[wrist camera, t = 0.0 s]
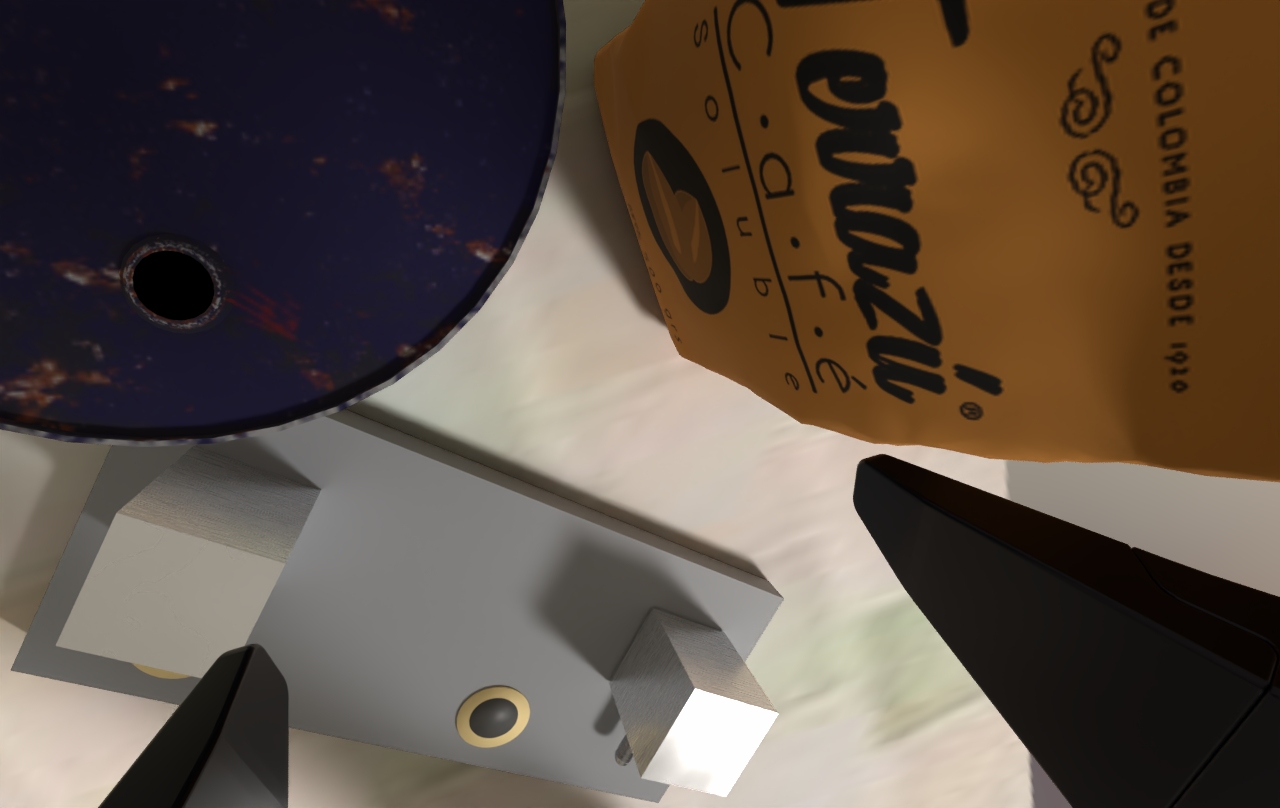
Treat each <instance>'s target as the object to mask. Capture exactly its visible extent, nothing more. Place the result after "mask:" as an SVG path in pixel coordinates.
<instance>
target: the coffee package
mask: <svg viewBox="0 0 1280 808" xmlns="http://www.w3.org/2000/svg"><path fill="white" fill-rule="evenodd" d="M594 85H595V90H596V95H597V99H598V104H599V108H600V113H601V117H602V121H603V126H604V129H605V133H606V136H607V140H608V144H609V148H610V152H611V156H612V160H613V163H614V167H615V170H616V173H617V176H618V179H619V183H620V186H621V189H622V192H623V195H624V198H625V201H626V205H627V208H628V211H629V214H630V217H631V220H632V223H633V226H634V229H635V232H636V235H637V238H638V241H639V244H640V248H641V251H642V254H643V257H644V260H645V263H646V266H647V269H648V272H649V275H650V278H651V281H652V285H653V288H654V291H655V294H656V297H657V299H658V302H659V305H660V308H661V311H662V313H663V316H664V319H665V322H666V325H667V327H668V330H669V333H670V336H671V338H672V340H673V343H674V345H675V347H676V349H677V351H678V353H679V355H681V356H682V357H683V358H685V359H688V360H690V361H692V362H695V363H697V364H699V365H701V366H703V367H705V368H706V369H709V370H711V371H713V372H716V373H718V374H720V375H723V376H725V377H727V378H729V379H731V380H733V381H735V382H737V383H738V384H740V385H742V386H745V387H747V388H748V389H750V390H751V391H752V392H754V393H755V394H756V395H758V396H759V397H761V398H763V399H764V400H766V401H767V402H769V403H770V404H772V405H774V406H775V407H777V408H779V409H780V410H782V411H783V412H785V413H786V414H788V415H789V416H791V417H792V418H794V419H795V420H797V421H798V422H800V423H801V424H809V425H814V426H818V427H821V428H824V429H828V430H831V431H835V432H838V433H841V434H844V435H847V436H850V437H853V438H856V439H859V440H863V441H867V442H870V443H874V444H891V445H897V446H901V445H922V446H928V447H935V448H941V449H947V450H951V451H956V452H961V453H966V454H970V455H975V456H980V457H984V458H989V459H1003V460H1020V461H1035V462H1042V463H1050V462H1064V461H1068V462H1082V463H1097V462H1098V463H1099V462H1122V463H1130V464H1139V465H1147V466H1153V467H1159V468H1164V469H1170V470H1176V471H1182V472H1187V473H1193V474H1199V475H1204V476H1215V477H1226V478H1238V479H1249V480H1261V481H1271V482H1280V0H645V2H644V4H643V5H642V7H641V9H640V11H639V12H638V14H637V16H636V18H635V20H634V21H633V23H632V24H631V26H629V27H628V28H626V29H625V30H624V31H622V32H621V33H619V34H618V35H616V36H615V37H614V38H613V39H612V40H611V41H609V42H608V43H607V44H606V45H605V46H603V47H602V48H601V49H600V50H599V51H598V52H597V54H596V56H595V59H594Z"/></svg>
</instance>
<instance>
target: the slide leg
mask: <svg viewBox="0 0 1280 808" xmlns="http://www.w3.org/2000/svg"><path fill="white" fill-rule="evenodd" d="M609 685H610V688H611V691H612V694H613V697H614V700H615V703H616V706H617V709H618V712H619V715H620V718H621V721H622V724H623V727H624V730H625V733H626V734H625V736H624V738H623V739H622V741H621V743H620V744H619V746H618V748H617V749H616V751H615V760H616V762H617V764H619V765H620V766H627V765H628V764H630V762H631V761H632V759H633V757H634V759H635V762H636V765H637V768H638V771H639V774H640V777H641V778H643V779H647V780H652V781H656V782H661V783H665V784H670V785H674V786H679V787H683V788H688V789H692V790H697V791H702V792H706V793H711V794H715V795H720V796H724V797H726V796H727V794H728V793H729V791H730V789H731V788H732V786H733V785H734V783H735V782H736V780H737V778H738V777H739V775H740V774H741V772H742V770H743V769H744V767H745V766H746V764H747V762H748V761H749V759H750V758H751V756H752V754H753V753H754V751H755V750H756V748H757V747H758V745H759V743H760V742H761V740H762V739H763V737H764V735H765V734H766V732H767V731H768V729H769V727H770V726H771V724H772V723H773V721H774V720H775V718H776V716H777V715H778V712H777V711H776V709H775V708H774V706H773V705H772V703H771V702H770V700H769V699H768V697H767V696H766V694H765V693H764V691H763V690H762V688H761V687H760V685H759V684H758V682H757V681H756V679H755V678H754V676H753V675H752V673H751V672H750V670H749V669H748V667H747V665H746V664H745V662H744V661H743V659H742V658H741V656H740V655H739V653H738V652H737V650H736V649H735V647H734V646H733V644H732V643H731V641H730V640H729V638H728V637H727V635H726V634H725V632H722V631H719V630H716V629H713V628H710V627H708V626H705V625H702V624H699V623H696V622H693V621H691V620H688V619H685V618H682V617H679V616H676V615H673V614H671V613H668V612H665V611H662V610H659V609H656V608H654V607H653V608H652V610H651V612H650V613H649V615H648V617H647V618H646V620H645V622H644V623H643V625H642V627H641V629H640V630H639V632H638V634H637V635H636V637H635V639H634V641H633V642H632V644H631V646H630V647H629V649H628V651H627V652H626V654H625V656H624V658H623V659H622V661H621V663H620V664H619V666H618V668H617V669H616V671H615V673H614V675H613V676H612V678H611V680H610V681H609Z"/></svg>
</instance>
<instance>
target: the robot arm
mask: <svg viewBox="0 0 1280 808" xmlns="http://www.w3.org/2000/svg"><path fill="white" fill-rule="evenodd" d="M853 502H854V506H855V509H856V511H857V513H858V515H859V516H860V518H861V520H862V521H863V523H864V525H865V526H866V528H867V529H868V531H869V533H870V534H871V536H872V538H873V539H874V541H875V542H876V544H877V546H878V547H879V549H880V550H881V552H882V554H883V555H884V557H885V559H886V560H887V562H888V563H889V565H890V567H891V568H892V570H893V571H894V573H895V575H896V576H897V578H898V579H899V581H900V582H901V584H902V585H903V587H904V588H905V590H906V591H907V593H908V594H909V595H910V597H911V598H912V599H913V601H914V602H915V603H916V605H917V606H918V607H919V609H920V610H921V611H922V613H923V614H924V615H925V616H926V618H927V619H928V620H929V622H930V623H931V624H932V626H933V627H934V628H935V629H936V631H937V632H938V633H939V635H940V636H941V637H942V639H943V640H944V641H945V642H946V644H947V645H948V646H949V648H950V649H951V650H952V652H953V653H954V654H955V655H956V657H957V658H958V659H959V661H960V662H961V663H962V665H963V666H964V667H965V668H966V670H967V671H968V672H969V674H970V675H971V676H972V678H973V679H974V680H975V681H976V683H977V684H978V685H979V687H980V688H981V689H982V691H983V692H984V693H985V695H986V696H987V697H988V698H989V700H990V701H991V702H992V704H993V705H994V706H995V708H996V709H997V710H998V711H999V713H1000V714H1001V715H1002V717H1003V718H1004V719H1005V721H1006V722H1007V723H1008V724H1009V726H1010V727H1011V728H1012V730H1013V731H1014V732H1015V734H1016V735H1017V736H1018V737H1019V739H1020V740H1021V741H1022V743H1023V744H1024V745H1025V747H1026V748H1027V749H1028V750H1029V752H1030V753H1031V754H1032V756H1033V757H1034V758H1035V760H1036V761H1037V762H1038V763H1039V765H1040V766H1041V767H1042V769H1043V770H1044V771H1045V772H1046V774H1047V775H1048V776H1049V778H1050V779H1051V780H1052V782H1053V783H1054V784H1055V786H1056V787H1057V788H1058V789H1059V790H1060V792H1061V793H1062V795H1063V796H1064V797H1065V799H1066V800H1067V801H1068V802H1069V804H1070V805H1071V806H1072V808H1280V597H1278V596H1275V595H1272V594H1268V593H1266V592H1263V591H1259V590H1256V589H1253V588H1250V587H1247V586H1244V585H1241V584H1238V583H1235V582H1232V581H1229V580H1226V579H1223V578H1220V577H1217V576H1213V575H1210V574H1208V573H1205V572H1202V571H1199V570H1196V569H1194V568H1191V567H1188V566H1185V565H1183V564H1180V563H1177V562H1174V561H1171V560H1168V559H1165V558H1163V557H1160V556H1158V555H1155V554H1152V553H1150V552H1147V551H1144V550H1141V549H1139V548H1136V547H1133V548H1131V547H1130V546H1129V545H1128V544H1125V543H1123V542H1120V541H1117V540H1114V539H1112V538H1109V537H1106V536H1104V535H1101V534H1098V533H1096V532H1093V531H1090V530H1087V529H1085V528H1082V527H1079V526H1077V525H1074V524H1072V523H1069V522H1066V521H1063V520H1061V519H1058V518H1055V517H1053V516H1050V515H1047V514H1045V513H1042V512H1039V511H1036V510H1034V509H1031V508H1029V507H1026V506H1023V505H1020V504H1018V503H1015V502H1012V501H1010V500H1007V499H1004V498H1002V497H999V496H996V495H994V494H991V493H988V492H986V491H983V490H980V489H978V488H975V487H972V486H970V485H967V484H964V483H961V482H959V481H956V480H953V479H951V478H948V477H945V476H943V475H940V474H937V473H935V472H932V471H929V470H927V469H924V468H921V467H919V466H916V465H913V464H910V463H908V462H905V461H902V460H900V459H897V458H894V457H892V456H889V455H886V454H879V455H876V456H872V457H869V458H866V459H863V460H861V461H860V462H859V464H858V466H857V471H856V479H855V486H854V493H853ZM288 753H289V692H288V686H287V683H286V680H285V678H284V676H283V675H282V673H281V672H280V670H279V669H278V667H277V666H276V665H275V663H274V662H273V660H272V659H271V657H270V656H269V654H268V653H267V651H266V650H265V649H264V648H263V646H261V645H260V644H257V643H255V644H249V645H246V646H242V647H239V648H236V649H233V650H229V651H227V652H225V653H223V654H222V655H220V656H219V657H218V658H217V660H216V661H215V662H214V663H213V664H212V666H211V667H210V668H209V669H208V671H207V672H206V673H205V674H204V676H203V677H202V678H201V679H200V681H199V682H198V683H197V684H196V686H195V687H194V688H193V689H192V691H191V692H190V693H189V694H188V696H187V697H186V698H185V699H184V701H183V702H182V703H181V704H180V706H179V707H178V708H177V709H176V711H175V712H174V713H173V714H172V716H171V717H170V718H169V719H168V721H167V722H166V723H165V724H164V726H163V727H162V728H161V729H160V731H159V732H158V733H157V734H156V736H155V737H154V738H153V739H152V741H151V742H150V743H149V744H148V746H147V747H146V748H145V749H144V751H143V752H142V753H141V754H140V756H139V757H138V758H137V759H136V761H135V762H134V763H133V764H132V766H131V767H130V768H129V769H128V771H127V772H126V773H125V775H124V776H123V777H122V778H121V780H120V781H119V782H118V783H117V785H116V786H115V787H114V788H113V790H112V791H111V792H110V793H109V795H108V796H107V797H106V798H105V800H104V801H103V802H102V803H101V805H100V806H99V807H98V808H288Z"/></svg>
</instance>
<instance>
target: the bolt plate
mask: <svg viewBox="0 0 1280 808" xmlns="http://www.w3.org/2000/svg"><path fill="white" fill-rule="evenodd" d="M194 445H196V446H199V447H202V448H205V449H208V450H211V451H213V452H216V453H219V454H222V455H225V456H228V457H231V458H233V459H236V460H239V461H242V462H245V463H248V464H250V465H253V466H256V467H259V468H262V469H265V470H267V471H270V472H273V473H276V474H279V475H282V476H285V477H287V478H290V479H293V480H296V481H299V482H302V483H304V484H307V485H310V486H313V487H316V488H319V489H321V492H320V494H319V496H318V498H317V500H316V502H315V504H314V506H313V508H312V510H311V512H310V514H309V516H308V518H307V521H306V523H305V525H304V527H303V529H302V531H301V533H300V535H299V537H298V539H297V541H296V543H295V545H294V547H293V549H292V551H291V553H290V556H289V558H288V560H287V562H286V564H285V566H284V568H283V570H282V572H281V574H280V576H279V578H278V580H277V582H276V584H275V586H274V588H273V590H272V592H271V594H270V596H269V598H268V600H267V602H266V604H265V606H264V608H263V610H262V612H261V614H260V616H259V618H258V620H257V622H256V624H255V626H254V628H253V630H252V632H251V634H250V636H249V638H248V640H247V642H246V644H245V646H246V645H249V644H255V643H257V644H260V645H261V646H263V648H264V649H265V650H266V651H267V653H268V654H269V656H270V657H271V659H272V660H273V662H274V663H275V665H276V666H277V667H278V669H279V670H280V672H281V673H282V675H283V676H284V678H285V680H286V683H287V686H288V692H289V727H290V728H295V729H299V730H304V731H309V732H314V733H319V734H324V735H329V736H334V737H338V738H343V739H348V740H353V741H358V742H363V743H368V744H373V745H378V746H382V747H387V748H392V749H397V750H402V751H407V752H412V753H417V754H422V755H426V756H431V757H436V758H441V759H446V760H451V761H456V762H461V763H465V764H470V765H475V766H480V767H485V768H490V769H495V770H500V771H505V772H509V773H514V774H519V775H524V776H529V777H534V778H539V779H544V780H549V781H553V782H558V783H563V784H568V785H573V786H578V787H583V788H588V789H592V790H597V791H602V792H607V793H612V794H617V795H622V796H627V797H632V798H636V799H641V800H646V801H651V802H656V803H659V801H660V800H661V798H662V796H663V795H664V793H665V791H666V790H667V788H668V787H669V785H670V784H665V783H661V782H656V781H652V780H647V779H643V778H641V777H640V774H639V771H638V768H637V765H636V762H635V759H634V757H633V759H632V761H631V762H630V764H628V765H627V766H620V765H619V764H617V762H616V760H615V751H616V749H617V748H618V746H619V744H620V743H621V741H622V739H623V738H624V736H625V734H626V733H625V730H624V727H623V724H622V721H621V718H620V715H619V712H618V709H617V706H616V703H615V700H614V697H613V694H612V691H611V688H610V685H609V681H610V680H611V678H612V676H613V675H614V673H615V671H616V669H617V668H618V666H619V664H620V663H621V661H622V659H623V658H624V656H625V654H626V652H627V651H628V649H629V647H630V646H631V644H632V642H633V641H634V639H635V637H636V635H637V634H638V632H639V630H640V629H641V627H642V625H643V623H644V622H645V620H646V618H647V617H648V615H649V613H650V612H651V610H652V608H653V607H654V608H656V609H659V610H662V611H665V612H668V613H671V614H673V615H676V616H679V617H682V618H685V619H688V620H691V621H693V622H696V623H699V624H702V625H705V626H708V627H710V628H713V629H716V630H719V631H722V632H725V634H726V635H727V637H728V638H729V640H730V641H731V643H732V644H733V646H734V647H735V649H736V650H737V652H738V653H739V655H740V656H741V658H742V659H743V661H744V662H745V661H746V660H747V658H748V656H749V655H750V653H751V651H752V650H753V648H754V647H755V645H756V643H757V642H758V640H759V638H760V637H761V635H762V634H763V632H764V630H765V629H766V627H767V625H768V624H769V622H770V621H771V619H772V617H773V616H774V614H775V612H776V611H777V609H778V608H779V606H780V604H781V603H782V601H783V599H784V598H783V597H782V596H781V595H780V594H779V592H778V591H777V590H776V589H775V588H774V587H773V586H772V584H771V583H770V582H769V581H767V580H765V579H762V578H760V577H757V576H755V575H752V574H750V573H747V572H745V571H742V570H740V569H737V568H735V567H733V566H730V565H728V564H725V563H723V562H720V561H718V560H715V559H713V558H710V557H708V556H705V555H703V554H701V553H698V552H696V551H693V550H691V549H688V548H686V547H683V546H681V545H678V544H676V543H673V542H671V541H669V540H666V539H664V538H661V537H659V536H656V535H654V534H651V533H649V532H646V531H644V530H641V529H639V528H637V527H634V526H632V525H629V524H627V523H624V522H622V521H619V520H617V519H614V518H612V517H609V516H607V515H605V514H602V513H600V512H597V511H595V510H592V509H590V508H587V507H585V506H582V505H580V504H577V503H575V502H573V501H570V500H568V499H565V498H563V497H560V496H558V495H555V494H553V493H550V492H548V491H546V490H543V489H541V488H538V487H536V486H533V485H531V484H528V483H526V482H523V481H521V480H518V479H516V478H514V477H511V476H509V475H506V474H504V473H501V472H499V471H496V470H494V469H491V468H489V467H486V466H484V465H482V464H479V463H477V462H474V461H472V460H469V459H467V458H464V457H462V456H459V455H457V454H454V453H452V452H450V451H447V450H445V449H442V448H440V447H437V446H435V445H432V444H430V443H427V442H425V441H422V440H420V439H418V438H415V437H413V436H410V435H408V434H405V433H403V432H400V431H398V430H395V429H393V428H390V427H388V426H386V425H383V424H381V423H378V422H376V421H373V420H371V419H368V418H366V417H363V416H361V415H358V414H356V413H354V412H351V411H349V410H346V409H343V410H341V411H339V412H336V413H333V414H330V415H327V416H324V417H321V418H318V419H315V420H312V421H309V422H306V423H303V424H300V425H297V426H294V427H291V428H288V429H285V430H282V431H279V432H273V433H268V434H262V435H257V436H252V437H246V438H241V439H236V440H230V441H225V442H220V443H213V444H194ZM194 445H175V446H157V447H134V446H120V445H112V446H111V449H110V451H109V453H108V455H107V457H106V460H105V462H104V464H103V466H102V468H101V471H100V473H99V475H98V477H97V480H96V482H95V484H94V486H93V488H92V491H91V493H90V495H89V497H88V500H87V502H86V504H85V506H84V508H83V511H82V513H81V515H80V517H79V520H78V522H77V524H76V526H75V528H74V531H73V533H72V535H71V537H70V540H69V542H68V544H67V546H66V548H65V551H64V553H63V555H62V557H61V559H60V562H59V564H58V566H57V568H56V571H55V573H54V575H53V577H52V579H51V582H50V584H49V586H48V588H47V591H46V593H45V595H44V597H43V599H42V602H41V604H40V606H39V608H38V611H37V613H36V615H35V617H34V619H33V622H32V624H31V626H30V628H29V630H28V633H27V635H26V637H25V639H24V642H23V644H22V646H21V648H20V650H19V653H18V655H17V657H16V659H15V662H14V664H13V666H12V668H11V671H16V672H21V673H26V674H31V675H36V676H41V677H45V678H50V679H55V680H60V681H65V682H70V683H75V684H80V685H85V686H89V687H94V688H99V689H104V690H109V691H114V692H119V693H124V694H128V695H133V696H138V697H143V698H148V699H153V700H158V701H163V702H168V703H172V704H177V705H180V704H181V703H182V702H183V701H184V699H185V698H186V697H187V696H188V694H189V693H190V692H191V691H192V689H193V688H194V687H195V686H196V684H197V683H198V682H199V681H200V679H201V678H198V677H193V676H189V675H184V674H180V673H175V672H171V671H166V670H162V669H157V668H153V667H148V666H144V665H139V664H135V663H130V662H126V661H121V660H117V659H112V658H108V657H103V656H99V655H94V654H90V653H85V652H81V651H76V650H72V649H67V648H63V647H58V646H56V644H57V641H58V639H59V637H60V635H61V633H62V630H63V628H64V626H65V624H66V622H67V619H68V617H69V615H70V613H71V611H72V609H73V606H74V604H75V602H76V600H77V598H78V595H79V593H80V591H81V589H82V587H83V585H84V582H85V580H86V578H87V576H88V574H89V571H90V569H91V567H92V565H93V563H94V561H95V558H96V556H97V554H98V552H99V550H100V547H101V545H102V543H103V541H104V539H105V537H106V534H107V532H108V530H109V528H110V526H111V523H112V521H113V519H114V517H115V515H116V513H117V512H118V511H119V510H120V509H121V508H123V507H124V506H125V505H126V504H127V503H128V502H129V501H131V500H132V499H133V498H134V497H135V496H136V495H138V494H139V493H140V492H141V491H142V490H143V489H144V488H146V487H147V486H148V485H149V484H150V483H151V482H152V481H154V480H155V479H156V478H157V477H158V476H159V475H160V474H162V473H163V472H164V471H165V470H166V469H167V468H169V467H170V466H171V465H172V464H173V463H174V462H175V461H177V460H178V459H179V458H180V457H181V456H182V455H183V454H185V453H186V452H187V451H188V450H189V449H190V448H191V447H193V446H194Z"/></svg>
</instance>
